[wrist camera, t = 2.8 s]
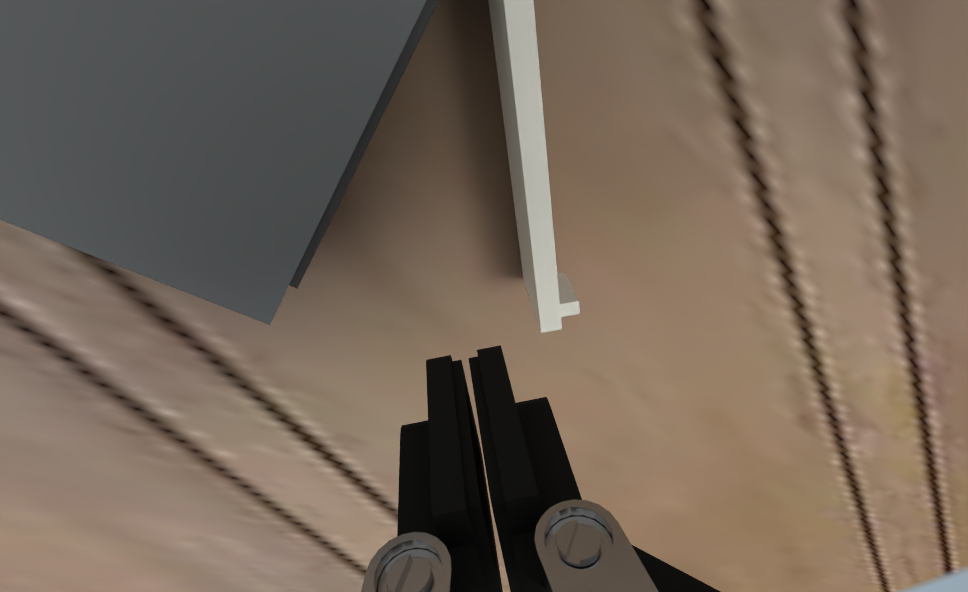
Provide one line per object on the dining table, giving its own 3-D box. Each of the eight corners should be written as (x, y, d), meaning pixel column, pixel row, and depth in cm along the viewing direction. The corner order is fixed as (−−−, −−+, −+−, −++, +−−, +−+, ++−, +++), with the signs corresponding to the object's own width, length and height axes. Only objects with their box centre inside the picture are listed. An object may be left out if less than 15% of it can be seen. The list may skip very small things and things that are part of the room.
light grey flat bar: (531, -90, 16) (560, -111, 13) (561, 275, 23) (584, 324, 20) (471, -80, 16) (484, -99, 13) (519, 282, 23) (536, 333, 20)
